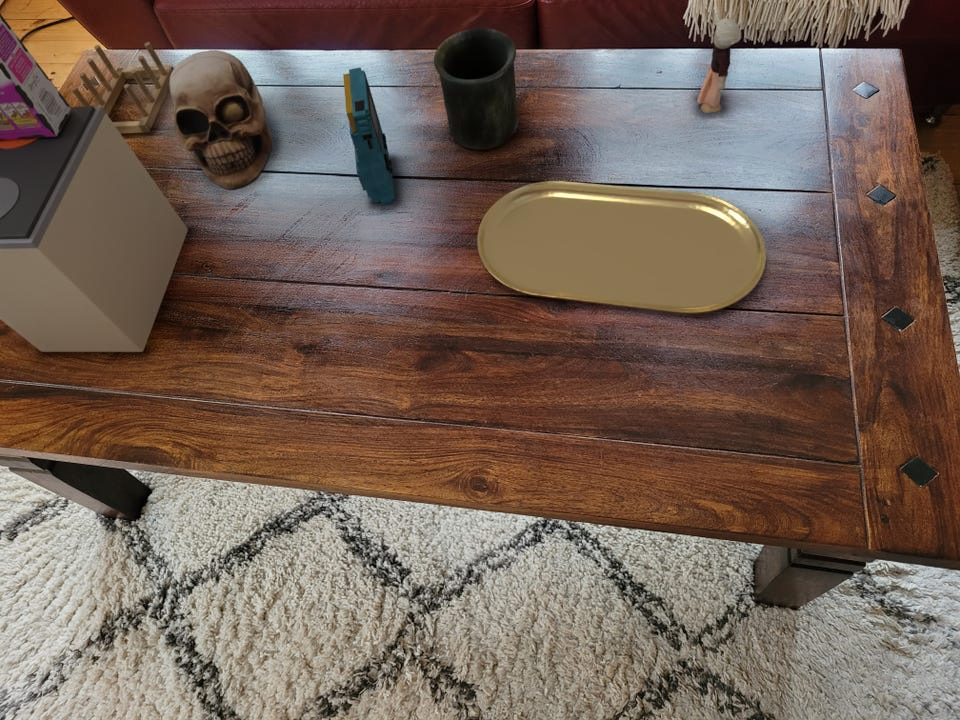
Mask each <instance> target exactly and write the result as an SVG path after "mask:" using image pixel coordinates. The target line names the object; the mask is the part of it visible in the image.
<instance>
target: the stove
mask: <svg viewBox="0 0 960 720" xmlns="http://www.w3.org/2000/svg"><path fill="white" fill-rule="evenodd" d="M70 107H71V108H72V110H71V112H70V114H69V116H68V118H67V120H66V122H65V123H64V125H63V127H62V129H61V131H60V133H59V134H58V136H56V137H43V138H30V139H17V140H3V141H0V320H1V321H2V322H3V323H4V324H6V325H7V326H8V327H9V328H11V329H12V330H13V331H15V332H16V333H17V334H18V335H19V336H21V337H22V338H24V339H25V341H27V342H29V343H30V344H31V345H32V346H34V348H36V349H37V350H38V351H40V352H42V353H143V352H144V350H145V349H146V345H147V342H148V339H149V337H150V334H151V331H152V329H153V326H154V324H155V320H156V319H157V315H158V313H159V310H160V307H161V304H162V301H163V299H164V296H165V294H166V291H167V289H168V285H169V283H170V280H171V277H172V276H173V275H172V274H173V272H174V269H175V266H176V263H177V262H178V259H179V256H180V253H181V251H182V248H183V245H184V243H185V240H186V237H187V234H188V231H189V229H188V227H187V226H186V224H185V223H184V221H183V220H182V218H180V216H179V214H178V213H177V212H176V210H175V208H173V206H172V205H171V203H170V202H169V201H168V199H167V197H166V196H165V195H164V193H163V192H162V190H161V188H159V186H158V185H157V183H156V182H155V181H154V179H153V178H152V176H151V175H150V173H149V172H148V170H147V169H146V168H145V166H144V164H143V163H142V162H141V161H140V159H139V158H138V156H137V155H136V153H135V152H134V151H133V150H132V148H131V146H130V145H129V144H128V142H127V140H126V139H125V138H124V136H123V135H122V133H121V134H120V132H119V131H118V129H117V128H116V127H115V125H114V124H113V122H114V121H113V120H112V119H111V118H110V116H108V115H107V114H106V113H105V111H104V110H103V108H102V107H98V106H93V105H90V106H83V105H82V106H70Z"/></svg>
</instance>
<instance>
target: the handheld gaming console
mask: <svg viewBox="0 0 960 720" xmlns="http://www.w3.org/2000/svg"><path fill="white" fill-rule="evenodd" d="M342 76H343V88H344V101H345V113H346V117H347V120H348V124H349V135H350V138H351V141H352V143H353V147H354V158H355V169H356V174H357V177H358V180H359V182H360V186H361V188H362V190H363V191H366V194H367V197H368V199H369V198H371V200H372V203H373V204H376V203H381V205H382V206H386V205H387V206H388V205H392V204H394V200H395V199H396V192H395V186H394V178H393V174H394V172H393V167H392V159H391V157H390V152H389V149H388V143H387V137H386V134H385V133H384V132H383V129H382V124H381V121H380V118H379V115H378V112H377V107H376V104H375V101H374V98H373V94H372V90H371V88H370V83H369V81H368V77H367V74H366V71H365V70H362V68H361V66H360V67H355V68H349V69H348V73H343V75H342Z"/></svg>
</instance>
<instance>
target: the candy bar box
mask: <svg viewBox="0 0 960 720" xmlns="http://www.w3.org/2000/svg"><path fill="white" fill-rule="evenodd" d="M71 107H72V106H70V104H69V103H68V102H67V100H66V99H65V98H64V96H63V95H62V93H61V92H60V91H59V90H58V89H57V87H56V86H55V84H54V83H53V81H52V80H51V79H50V77H48V75H47V74H46V72H45V71H44V69H42V67H41V65H39V63H38V62H37V60H35V57H34V56H33V55H32V54H31V52H30V51H29V49H28V48H27V47H26V45H24V43H23V42H22V41H21V40H20V38H19V37H18V35H17V34H16V32H15V31H14V30H13V29H12V27H11V25H10V24H9V23H8V22H7V20H6V19H5V18H4V16H3V15H2V14H1V13H0V141H3V140H17V139H30V138H43V137H56V136H58V134H59V133H60V131H61V129H62V127H63V125H64V123H65V122H66V120H67V118H68V116H69V114H70V112H71V110H72V108H71Z"/></svg>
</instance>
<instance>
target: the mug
mask: <svg viewBox="0 0 960 720" xmlns="http://www.w3.org/2000/svg"><path fill="white" fill-rule="evenodd" d="M516 57H517V48H516V45H515V43H514V41H513V40H512V38H511V37H510V36H508V35H507V34H506V33H504V32H502V31H499V30H497V29H493V28H486V27H484V28H483V27H478V28H477V27H476V28H468V29H465V30H461V31H459V32H457V33H454V34H453V35H451V36H448V37H447V38H446V39H444V40H443V42H441V43H440V44H439V46H438V47H437V49H436V50H435V53H434V56H433V66H434V68H435V71H436V72H437V73H438V75H439V80H440V85H441V91H442V97H443V101H444V107H445V113H446V117H447V118H446V119H447V123H448V129H449V132H450V133H449V134H450V135H451V138H452V139H454V141H456V143H458V144H459V145H461V146H462V147H464V148H468V149H470V150H476V151H485V150H491V149H494V148H497V147H499V146H501V145H504V143H506V142H508V141H509V140H510V139H511V138H512V136H513V135H514V133H515V132H516V130H517V129H518V124H519V113H518V100H517V99H518V98H517V88H516V87H517V86H516V85H517V84H516V74H515V61H516Z"/></svg>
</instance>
